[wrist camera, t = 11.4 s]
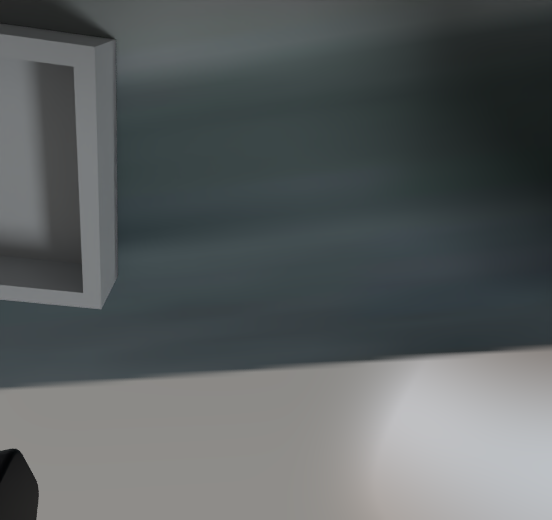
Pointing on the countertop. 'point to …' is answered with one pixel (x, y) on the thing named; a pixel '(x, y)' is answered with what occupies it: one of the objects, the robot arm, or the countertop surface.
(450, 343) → the countertop surface
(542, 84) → the countertop surface
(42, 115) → the gray tray
